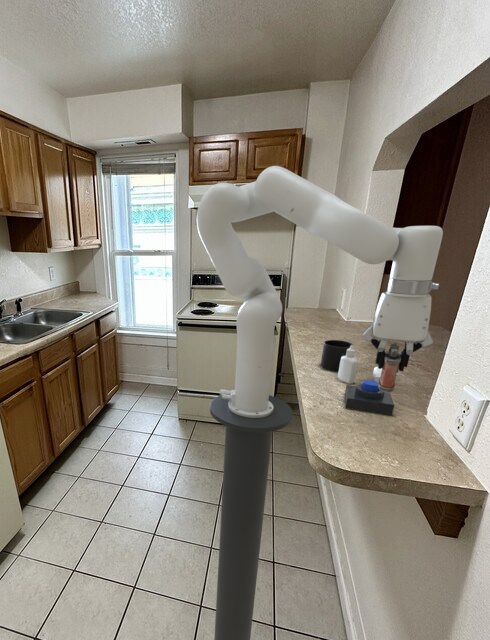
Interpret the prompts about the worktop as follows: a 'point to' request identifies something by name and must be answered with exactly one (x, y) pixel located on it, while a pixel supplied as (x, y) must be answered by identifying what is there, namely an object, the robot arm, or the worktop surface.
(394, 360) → the lighter
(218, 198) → the robot arm
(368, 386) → the blue button cap
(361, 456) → the worktop surface
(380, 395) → the button housing
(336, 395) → the worktop surface
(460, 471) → the worktop surface
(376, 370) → the soap bar
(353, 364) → the eye dropper bottle
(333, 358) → the mug
